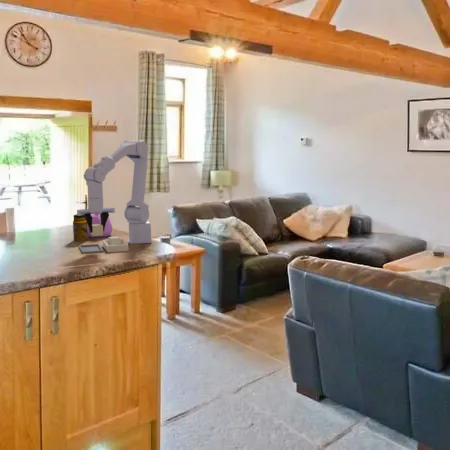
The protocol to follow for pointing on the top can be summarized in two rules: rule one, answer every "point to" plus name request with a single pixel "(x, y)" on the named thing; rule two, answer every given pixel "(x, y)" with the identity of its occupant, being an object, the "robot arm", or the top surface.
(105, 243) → the cream dish
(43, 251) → the top surface
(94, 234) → the beige cube
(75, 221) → the condiment
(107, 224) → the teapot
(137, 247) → the top surface
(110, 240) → the light gray cube
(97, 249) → the slate tray
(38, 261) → the top surface
